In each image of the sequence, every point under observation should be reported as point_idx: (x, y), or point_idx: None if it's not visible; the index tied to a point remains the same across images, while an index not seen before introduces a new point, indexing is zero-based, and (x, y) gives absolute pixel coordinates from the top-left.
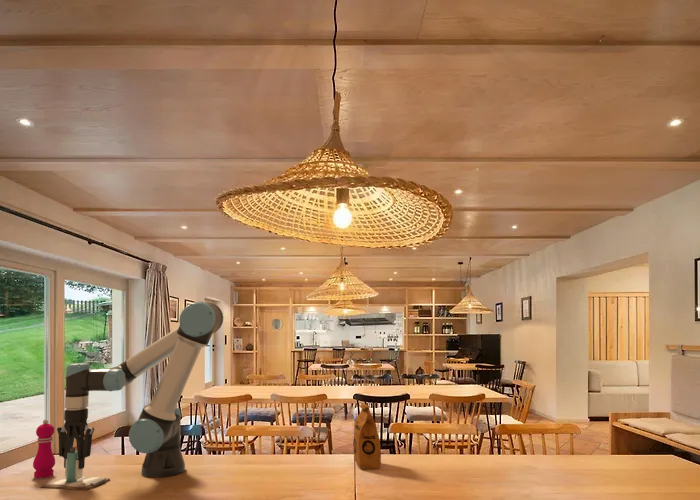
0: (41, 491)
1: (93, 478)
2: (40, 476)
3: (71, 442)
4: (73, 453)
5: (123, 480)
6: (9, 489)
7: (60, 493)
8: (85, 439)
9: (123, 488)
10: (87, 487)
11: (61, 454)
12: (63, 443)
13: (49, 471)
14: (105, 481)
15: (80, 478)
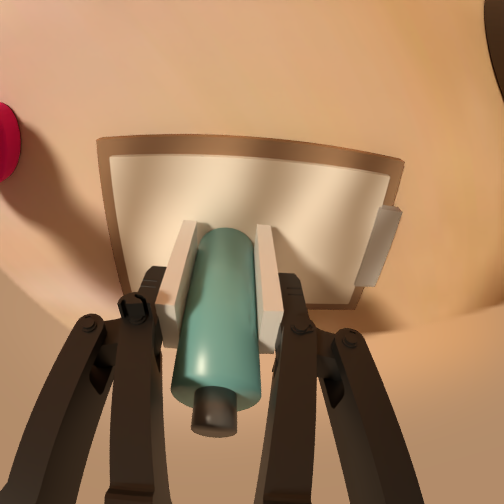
0: None
1: (325, 191)
2: (5, 178)
3: (160, 456)
4: (247, 407)
5: (457, 166)
6: (53, 309)
7: None
8: (361, 495)
9: (466, 270)
10: (351, 302)
11: (114, 366)
12: (84, 432)
13: (3, 151)
14: (391, 195)
15: (241, 197)
